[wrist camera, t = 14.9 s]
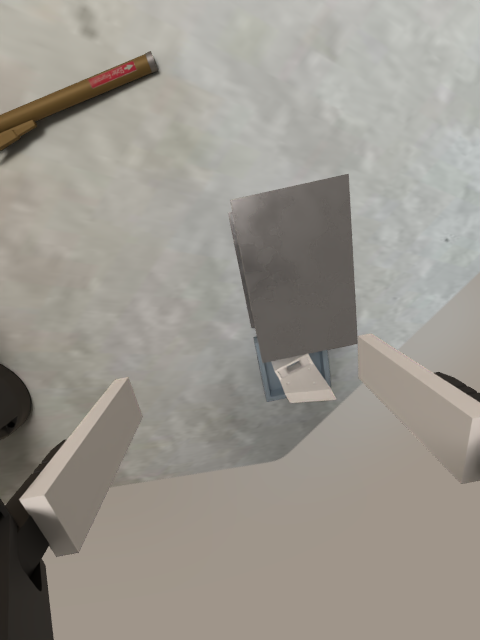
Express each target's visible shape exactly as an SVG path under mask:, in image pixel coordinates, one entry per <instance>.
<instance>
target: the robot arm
mask: <svg viewBox="0 0 480 640" xmlns="http://www.w3.org/2000/svg"><path fill="white" fill-rule="evenodd" d="M358 378H359V379H360V380H361V381H362V382H363V383H364V384H365V385H366V386H367V387H368V388H369V389H370V390H371V391H372V392H373V393H374V394H375V396H376V397H377V398H378V399H379V400H380V401H381V402H382V403H383V404H384V405H385V406H386V407H387V408H388V409H389V410H390V411H391V412H392V413H393V414H394V415H395V416H396V417H397V418H398V419H399V420H400V421H401V422H402V423H403V424H404V425H405V426H406V428H408V430H410V432H411V433H413V435H414V436H415V437H416V438H417V439H418V440H419V441H420V442H421V443H422V444H423V445H424V446H425V447H426V448H427V449H428V450H429V451H430V452H431V453H432V454H433V455H434V456H435V457H436V458H437V459H438V461H439V462H440V463H441V464H442V465H444V467H445V468H446V469H447V470H448V471H449V472H450V473H451V474H452V475H453V476H454V477H455V478H456V479H457V480H458V481H459V482H460V483H461V484H463V483H469V482H474V481H480V393H477V391H475V390H474V389H472V388H471V387H467V386H466V385H465V384H464V383H462V382H460V381H459V380H457V379H455V378H454V377H451V376H448V375H446V374H443V373H440V372H436V373H432V372H431V371H429V370H428V369H426V368H425V367H423V366H421V365H420V364H418V363H417V362H415V361H414V360H412V359H410V358H409V357H407V356H406V355H404V354H402V353H401V352H399V351H398V350H396V349H395V348H393V347H392V346H390V345H388V344H387V343H385V342H384V341H382V340H381V339H379V338H377V337H376V336H374V335H373V334H366V335H361V336H358ZM30 410H31V401H30V396H29V393H28V391H27V389H26V387H25V386H24V384H23V383H22V382H21V380H20V379H19V378H18V377H17V376H16V375H15V374H14V373H12V372H11V371H10V370H8V369H7V368H5V367H4V366H2V365H0V440H1V439H3V438H5V437H7V436H9V435H10V434H12V433H13V432H14V431H15V430H16V429H17V428H19V427H20V426H21V425H22V424H23V423H24V422H25V421H26V420H27V418H28V416H29V414H30ZM142 417H143V416H142V413H141V410H140V408H139V405H138V402H137V399H136V397H135V394H134V391H133V388H132V386H131V383H130V380H129V377H126V378H121V379H115V380H114V381H113V383H112V384H111V385H110V386H109V388H108V389H107V390H106V391H105V393H104V394H103V395H102V396H101V398H100V399H99V400H98V401H97V403H96V404H95V405H94V406H93V408H92V409H91V410H90V411H89V413H88V414H87V415H86V417H85V418H84V419H83V420H82V422H81V423H80V424H79V425H78V427H77V428H76V429H75V430H74V432H73V433H72V434H71V435H70V437H69V438H68V439H67V440H63V441H62V442H61V443H60V444H58V445H57V446H56V447H55V448H53V449H52V450H51V451H50V452H49V454H48V455H47V456H46V457H45V458H44V460H43V461H42V463H41V464H39V466H38V467H37V468H36V469H35V470H34V473H33V474H31V475H30V476H29V478H28V479H27V480H26V481H25V482H24V484H23V485H22V486H21V487H20V488H19V490H18V491H17V492H16V493H15V494H14V496H13V497H12V498H11V499H10V500H9V502H8V503H7V504H6V505H4V503H3V502H2V501H1V499H0V640H54V639H53V631H52V621H51V613H50V603H49V594H48V585H47V576H46V566H45V564H44V562H43V560H42V559H41V558H42V557H43V555H44V553H45V552H46V550H47V548H48V546H50V548H51V549H52V551H53V552H54V554H55V555H56V557H57V556H63V555H69V554H74V553H79V551H80V549H81V547H82V544H83V542H84V540H85V538H86V536H87V534H88V532H89V530H90V528H91V526H92V523H93V521H94V519H95V517H96V515H97V513H98V511H99V509H100V507H101V504H102V502H103V500H104V498H105V496H106V494H107V492H108V489H109V487H110V485H111V483H112V481H113V479H114V477H115V475H116V473H117V470H118V468H119V466H120V464H121V462H122V460H123V458H124V456H125V453H126V451H127V449H128V447H129V445H130V443H131V441H132V439H133V437H134V434H135V432H136V430H137V428H138V426H139V424H140V422H141V420H142Z"/></svg>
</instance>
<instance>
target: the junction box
mask: <svg viewBox="0 0 480 640" xmlns="http://www.w3.org/2000/svg"><path fill="white" fill-rule="evenodd" d="M230 202H231V208H232V212H230V213H228V215H229V220H230V225H231V230H232V235H233V240H234V245H235V250H236V255H237V259H238V264H239V269H240V274H241V279H242V284H243V289H244V294H245V299H246V304H247V308H248V313H249V318H250V323H251V328H253V327H255V329H256V334H257V339H258V344H259V349H260V354H261V359H262V363H266V362H271V361H276V360H281V359H285V358H290V357H295V356H300V355H305V354H310V353H315V352H320V351H324V350H329V349H334V348H339V347H344V346H349V345H354V344H358V340H357V321H356V303H355V284H354V266H353V247H352V229H351V210H350V192H349V174H346V175H341V176H337V177H332V178H328V179H323V180H319V181H314V182H310V183H305V184H301V185H296V186H292V187H287V188H283V189H278V190H274V191H269V192H265V193H260V194H256V195H251V196H246V197H242V198H237V199H233V200H230Z"/></svg>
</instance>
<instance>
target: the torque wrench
mask: <svg viewBox="0 0 480 640" xmlns="http://www.w3.org/2000/svg"><path fill="white" fill-rule="evenodd" d="M156 71H158V69H157V66H156V64H155V61H154V58H153V55H152V53H151V51H150V52H147V53H145V54H144V55H142V56H139V57H137V58H135V59H132V60H130V61H128V62H125V63H123V64H120V65H118V66H116V67H113V68H111V69H109V70H106V71H104V72H101V73H99V74H97V75H94V76H92V77H90V78H87V79H85V80H82V81H80V82H78V83H75V84H73V85H71V86H68V87H66V88H63V89H61V90H59V91H56V92H54V93H52V94H49V95H47V96H44V97H42V98H40V99H37V100H35V101H33V102H30V103H28V104H25V105H23V106H21V107H18V108H16V109H13V110H11V111H9V112H6V113H4V114H2V115H0V151H1V150H2V149H4V148H6V147H7V146H9V145H11V144H12V143H14V142H15V141H17V140H19V139H20V136H22V135H24V134H25V133H27V132H29V131H30V130H32V129H34V128H35V127H37V123H36V122H35V121H38V120H40V119H42V118H45V117H47V116H50V115H52V114H54V113H57V112H59V111H62V110H64V109H66V108H69V107H71V106H73V105H76V104H78V103H81V102H83V101H85V100H88V99H90V98H93V97H95V96H97V95H100V94H102V93H105V92H107V91H109V90H112V89H114V88H117V87H119V86H121V85H124V84H126V83H128V82H131V81H133V80H136V79H138V78H140V77H143V76H145V75H148V74H150V73H154V72H156Z"/></svg>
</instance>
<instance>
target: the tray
mask: <svg viewBox="0 0 480 640" xmlns="http://www.w3.org/2000/svg"><path fill="white" fill-rule="evenodd" d="M253 338H254V343H255V348H256V353H257V358H258V362H259V367H260V372H261V377H262V382H263V387H264V392H265V396H266V401H267V402H269V401H274V400H279V399H284V398H287V397H286V395H285V393H284V390H283V387H282V385H281V382H280V379H279V378H278V376H277V374H276V373H275V371H274V368H273V365H272V363H271V362H266V363H262V359H261V354H260V349H259V344H258V339H257V337H253ZM309 356H310V358H311V360H312V362H313V363H314V365H315V366H316V368H317V369H318V371H319V372H320V374H321V375H322V376H323V378H324V379H325V381H326V382H327V384H328V385H329V387H330V388H331V382H330V371H329V361H328V351H327V350H324V351H320V352H315V353H310V354H309ZM297 362H299V361H297ZM297 362H295V363H297ZM295 363H293V364H291V365H289V366H287V368H288V367H290V366H292V365H294V364H295Z"/></svg>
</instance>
